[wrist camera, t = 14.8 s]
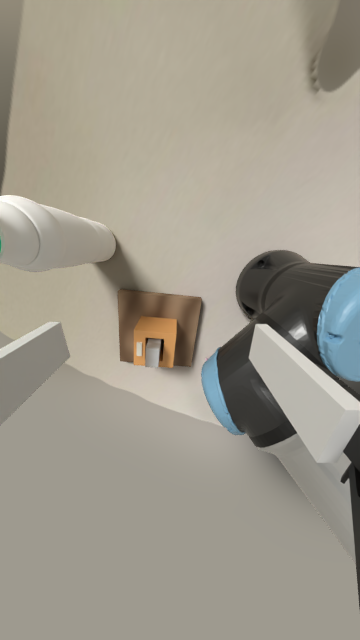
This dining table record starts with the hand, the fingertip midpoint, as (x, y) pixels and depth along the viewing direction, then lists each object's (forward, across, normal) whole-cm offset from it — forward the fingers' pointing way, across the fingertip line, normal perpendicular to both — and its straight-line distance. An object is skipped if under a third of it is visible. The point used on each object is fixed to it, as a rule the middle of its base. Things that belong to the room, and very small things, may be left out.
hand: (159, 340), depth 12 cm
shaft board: (+27, +3, +12) cm, 30 cm away
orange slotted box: (+25, +3, +12) cm, 28 cm away
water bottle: (+27, +15, -7) cm, 32 cm away
